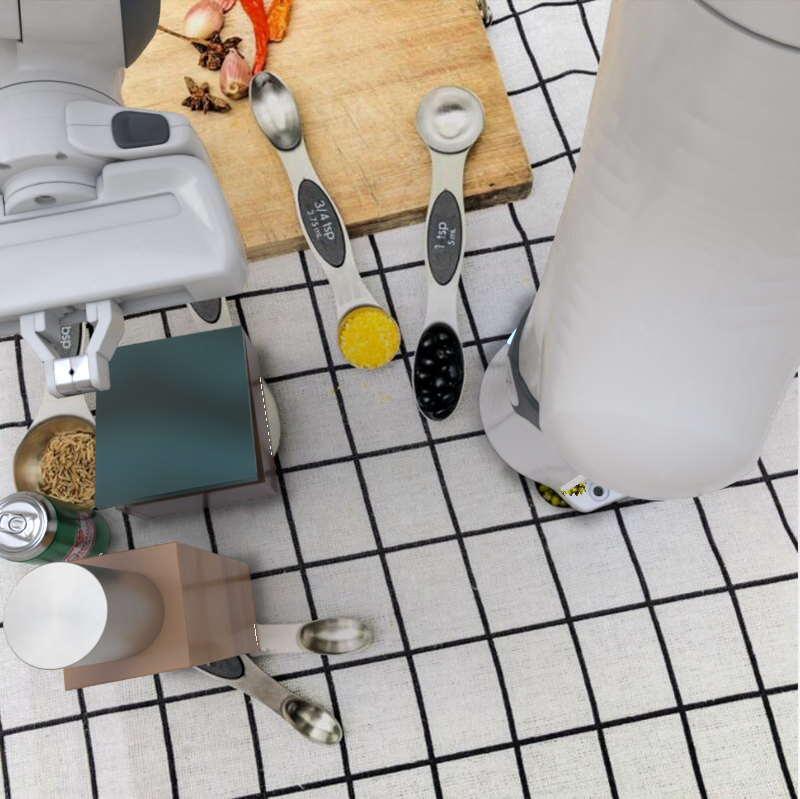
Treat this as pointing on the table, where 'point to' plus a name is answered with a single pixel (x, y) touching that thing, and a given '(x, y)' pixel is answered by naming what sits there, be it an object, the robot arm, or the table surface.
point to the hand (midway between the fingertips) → (79, 392)
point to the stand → (181, 612)
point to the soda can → (49, 530)
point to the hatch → (174, 419)
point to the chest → (234, 492)
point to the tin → (81, 615)
